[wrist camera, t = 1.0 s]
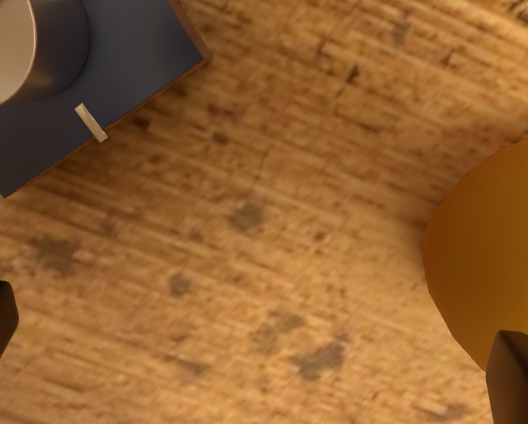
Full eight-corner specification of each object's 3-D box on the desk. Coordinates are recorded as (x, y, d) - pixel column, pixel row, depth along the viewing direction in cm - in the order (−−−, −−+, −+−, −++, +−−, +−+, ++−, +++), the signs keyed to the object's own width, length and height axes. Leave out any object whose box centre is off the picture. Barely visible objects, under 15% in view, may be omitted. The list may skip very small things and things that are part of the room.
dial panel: (43, 184, 21) (7, 207, 18) (-105, 0, 19) (-174, -8, 16) (218, 64, 20) (209, 66, 17) (78, -152, 18) (38, -193, 15)
